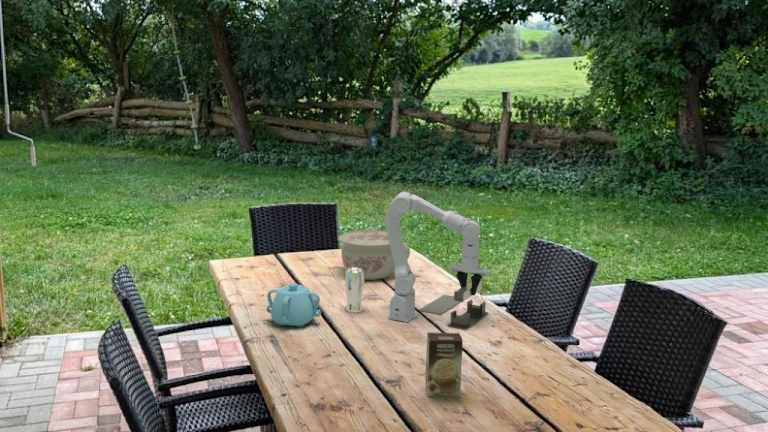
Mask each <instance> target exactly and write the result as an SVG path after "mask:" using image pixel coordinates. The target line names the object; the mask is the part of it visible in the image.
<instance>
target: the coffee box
mask: <svg viewBox="0 0 768 432" xmlns="http://www.w3.org/2000/svg"><path fill="white" fill-rule="evenodd" d="M426 334H427V336H426V355H425V356H426V358H425V378H424V379H425V380H424V381H425V382H424V385H425V387H424V388H425V392H426V393H425V394H426V397H430V398H431V397H432V398H433V397H437V398H441V397H442V398H444V397H445V398H447V397H449V398H451V397H452V398H456V397H458V398H460V397H461V384H462V361H463V359H462V358H463V343H464V342H463V338H462V335H461V334H460V332H427V333H426Z"/></svg>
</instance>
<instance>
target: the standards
mask: <svg viewBox="0 0 768 432" xmlns="http://www.w3.org/2000/svg"><path fill="white" fill-rule="evenodd" d="M486 305H487V302H485V301H483V302H481V303H480V305H477V304H473V299H470V300H468V301H466V311H465V312H464V313H462V314H461V315H457V314H458V313H457V310H452V311H451V312H450V322H449V323H448V324H447V325H446V327H447V326H448V327H447V328H452V329H458V330H463V331H467V330H468V329H470V328H471V327H472V326H474V325H475V324H476V323H478V322H479V321H481V320H482V319H484V318H485V317H486V316H488V315H489V312H488V311H486Z"/></svg>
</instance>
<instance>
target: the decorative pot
mask: <svg viewBox="0 0 768 432" xmlns="http://www.w3.org/2000/svg"><path fill="white" fill-rule="evenodd" d="M272 293H276V294H275V297H274V299H272V296H271V295H272ZM266 297H267V302H268V304H269V305H268V306H266V312H267V313H268V314H270V316H271V319H272V320H273V321H274V323H275V324H277V326H280V327H282V326H295V327H297V328H302V327H304V325H306V324H309V323H310V322H311V321H312V320H313V319H314V317H315V318H317V317H320V316H322V311H321V310H320V309H318V307H319V304H320V300H321V298H320V295H319V294H318V293H317V292H315V291H311V290H310V288H308V287H307V286H304V285H302V284H298V283H288V285H284V286H283V287H281V288H279V289H278V288H277V289H275V288H273V289H270V290H269V291H268V293H267V295H266ZM314 297H315V299H316V301H315V299H314Z"/></svg>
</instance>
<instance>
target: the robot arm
mask: <svg viewBox="0 0 768 432" xmlns="http://www.w3.org/2000/svg"><path fill="white" fill-rule="evenodd" d="M410 209H411V212H418V211H419V212H422V213H425V214H426V215H429V216H432V218H433V217H434V218H436V219H438V220H441V223H442V226H444V227H446V228H448V229H450V230H452V231H454V232H456V233H458V234H462V237H463V238H462V239H463V240H462V244H461V247H462V248H461V265H458V264H457V265H456V264H450V265H449V270H448V271H449V272H450V273H451V272H452V273H453V272H456V274H455V276H456V278H457V280H458V283H459V286H460V288H462V287H464V286H465V285H467V284H468V277H469V276H468V275H471V276H470V280H471V281H470V282H472V296H475V295H476V294H477V293H476V291H477V287H478V285H479V282H480V280H482V279H483V277H486V278H489V277H491V270H489V269H485V268H481V267H479V256H480V255H479V254H480V253H479V252H480V243H479V242H480V237H479V236H480V234H481V231H480V230H481V228H480V227H481V226H480V225H479V223H478V222H477V221H475V220H474V219H471V218H469V217H467V218H466V217H465V216H463V215H460V214H459V213H458V211H457V210H447V211H445V210H443V209H441V208H439V207H438V206H436V205H435V204H432V203H431V202H429V201H427V200H425V199H423V198H421V197H420V196H418V195H416V194H411V193H410V192H408V191H400V192H399V193H398V194H397V195H396V196H395V197H394V198H393V200H391V202H390V203H389V205H388V208H387V211H386V213H385V216H384V218H383V220H384V225H385V231H387V235H388V239H389V244H390V248H391V253H392V257H393V262H394V266H395V271H394V279H395V282H394V289H395V290H394V294H393V296H392V297H391V299H390V303H389V316H387V319H389V320H395V321H399V322H405V323H407V322H410V321H411V320H413V319H415V318H416V317H419V316H420V313H419V312H416V311H415V309H416V289H414V287H413V286H414V285H415V282H416V276H415V274H414V272H412V270H411V266H410V264H409V262H408V261H409V260H408V259H407V256H406V251H405V247H404V242H405V241H404V237H403V234H402V230H401V224H400V220H401V218H402V217H403V216H404V215H405V214H407V213H408V212H409V211H410ZM402 237H403V238H402Z"/></svg>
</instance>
